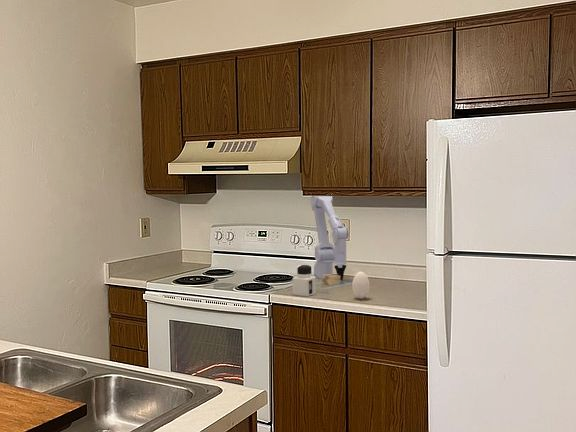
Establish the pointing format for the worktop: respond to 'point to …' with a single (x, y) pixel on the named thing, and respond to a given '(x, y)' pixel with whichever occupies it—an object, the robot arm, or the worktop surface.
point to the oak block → (331, 279)
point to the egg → (360, 285)
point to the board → (342, 283)
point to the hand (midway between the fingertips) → (340, 280)
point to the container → (304, 281)
